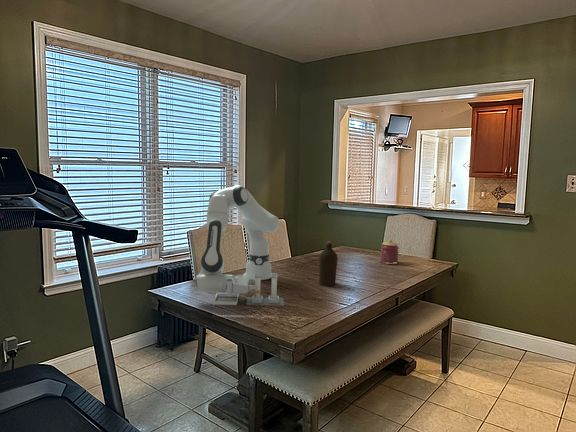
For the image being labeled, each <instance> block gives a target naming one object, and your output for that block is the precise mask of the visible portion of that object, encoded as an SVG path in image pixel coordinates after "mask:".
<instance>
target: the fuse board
mask: <svg viewBox="0 0 576 432" xmlns="http://www.w3.org/2000/svg"><path fill="white" fill-rule="evenodd" d="M254 297H255V294H253V295H251V296H248V297H246V305H248V306H250V305H251V306H285V302H284V297H279V295H276V297H277V299H271V295H268V297H263V295H260V298H254Z"/></svg>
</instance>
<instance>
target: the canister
mask: <svg viewBox="0 0 576 432" xmlns="http://www.w3.org/2000/svg"><path fill="white" fill-rule="evenodd" d="M399 249H400V247H399V244H398V243H397V242H396V241H393V240H392V239H391V238H389V239H388V241H387V240H386V241H384V242H382V243H381V246H380V253H379V254H380V255H379V256H380V257H379V262H380V261H382V262H389V263H393V262H398V263H399Z"/></svg>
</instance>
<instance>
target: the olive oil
mask: <svg viewBox="0 0 576 432" xmlns="http://www.w3.org/2000/svg"><path fill="white" fill-rule="evenodd" d="M325 243H326V244H325V248H324V250H322V251H321V252H320V254H319V256H318V284H319V285H320V286H323V285H324V287H333V285H334V286H335V285H336V280H337V278H336V277H337V268H338V259H339V258H338V255H337V253H336V252H335V250H334V249H333V244H332V243H333V242H332V241H330V240H328V241H326V242H325Z"/></svg>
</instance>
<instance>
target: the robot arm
mask: <svg viewBox="0 0 576 432" xmlns="http://www.w3.org/2000/svg"><path fill="white" fill-rule="evenodd" d="M208 199H209V200H208V201H209V202H208V206H207V211H206V227H207V240H206V248H205V251H204V252H203V254H202V257H201V259H200V263H201V264H200V265H201V267H202V268H201V269H200V271H199V273H198V274H196V275H195V284H196V288H197V289H198V291H199V292H203V293H226V294H228V295H232V294H239V295H240V294H242V295H243V294H244V295H245V294H248V292H249V291H252V290H255V289H258V285H255V273H256V272H260V273H261V281H264V280H269V279H272V278H271V273H272V263H271V262H270V261H269V260H270V254H269V247H270V245H269V244H270V243H269V240H268V239H267V238H266V237H265V235H264V233H275V232H277V230H278V229H279V227H280V219H279V218H278V216H276V215H274V214H272V213H270V212H269V211H268V210H267V209H265V208H264V207H262V205H260V203H258V201H257V200H256V199H255V198H254V197H253V194H251V193H250V191H248V189H246V188H245V187H244V186H243V185H241V184H236V185H235V184H234V185H233V186H230V187H225V188H222V189H219V190H215V191H213V192H212V193H211V194H210V195H209V198H208ZM234 208H235V209H236V210H238V212H239V213H240V214H241V215H242V217H241V224H242V227H244V228H245V230H246V232H247V235H248V238H249V254H248V262H246V265H245V266H246V267H245V268H246V269H245V272H244V273H243V275H234V274H225V273H224V274H223V272H224V269H225V263H224V259H223V255H222V253H221V238H222V234H223V232H225V231H226V229H227V227H228V223H229V217H230V210H231V209H234ZM229 209H230V210H229Z"/></svg>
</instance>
